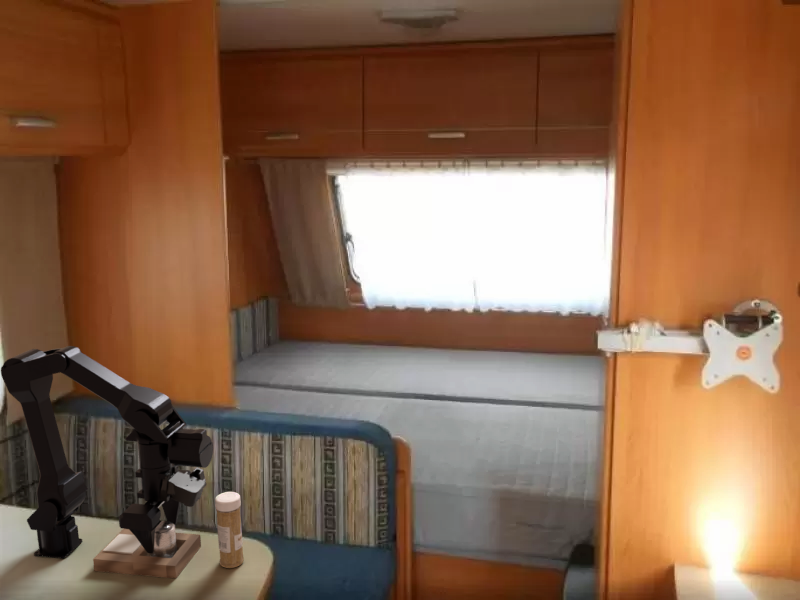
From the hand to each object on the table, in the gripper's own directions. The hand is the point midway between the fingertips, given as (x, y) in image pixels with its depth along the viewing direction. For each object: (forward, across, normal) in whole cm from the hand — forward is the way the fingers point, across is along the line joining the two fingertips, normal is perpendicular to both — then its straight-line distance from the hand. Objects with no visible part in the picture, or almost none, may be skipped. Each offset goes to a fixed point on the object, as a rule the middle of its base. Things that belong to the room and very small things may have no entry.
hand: (162, 539), depth 143 cm
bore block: (+4, 0, +3) cm, 5 cm away
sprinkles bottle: (+4, +1, -13) cm, 14 cm away
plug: (+4, 0, 0) cm, 4 cm away
